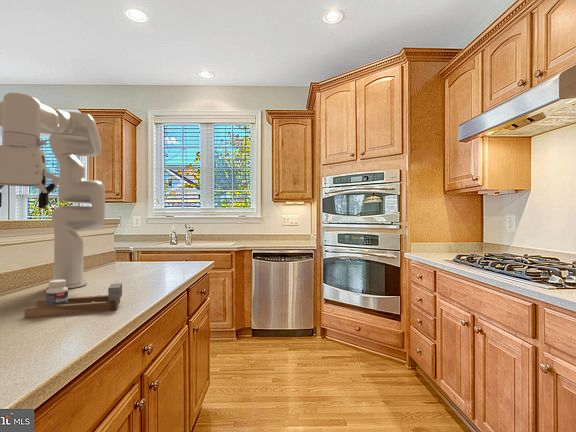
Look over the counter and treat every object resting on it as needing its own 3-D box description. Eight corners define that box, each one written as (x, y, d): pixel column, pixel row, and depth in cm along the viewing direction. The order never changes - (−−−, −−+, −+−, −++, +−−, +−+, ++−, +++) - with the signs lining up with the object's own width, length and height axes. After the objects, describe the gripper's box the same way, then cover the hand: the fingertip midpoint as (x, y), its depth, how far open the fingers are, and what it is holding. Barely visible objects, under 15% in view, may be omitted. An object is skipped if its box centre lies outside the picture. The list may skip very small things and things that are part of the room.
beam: (38, 307, 94) (38, 286, 94) (122, 301, 102) (122, 281, 102) (24, 317, 85) (24, 294, 85) (118, 310, 93) (118, 288, 93)
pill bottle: (55, 314, 89) (56, 283, 89) (40, 312, 90) (41, 282, 90) (72, 308, 94) (72, 279, 94) (57, 307, 95) (58, 278, 95)
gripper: (65, 148, 88) (63, 209, 88) (-13, 142, 82) (-15, 207, 82) (56, 143, 82) (54, 208, 81) (-30, 135, 75) (-32, 206, 75)
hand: (20, 207), depth 82 cm, fingers open, 9 cm apart
